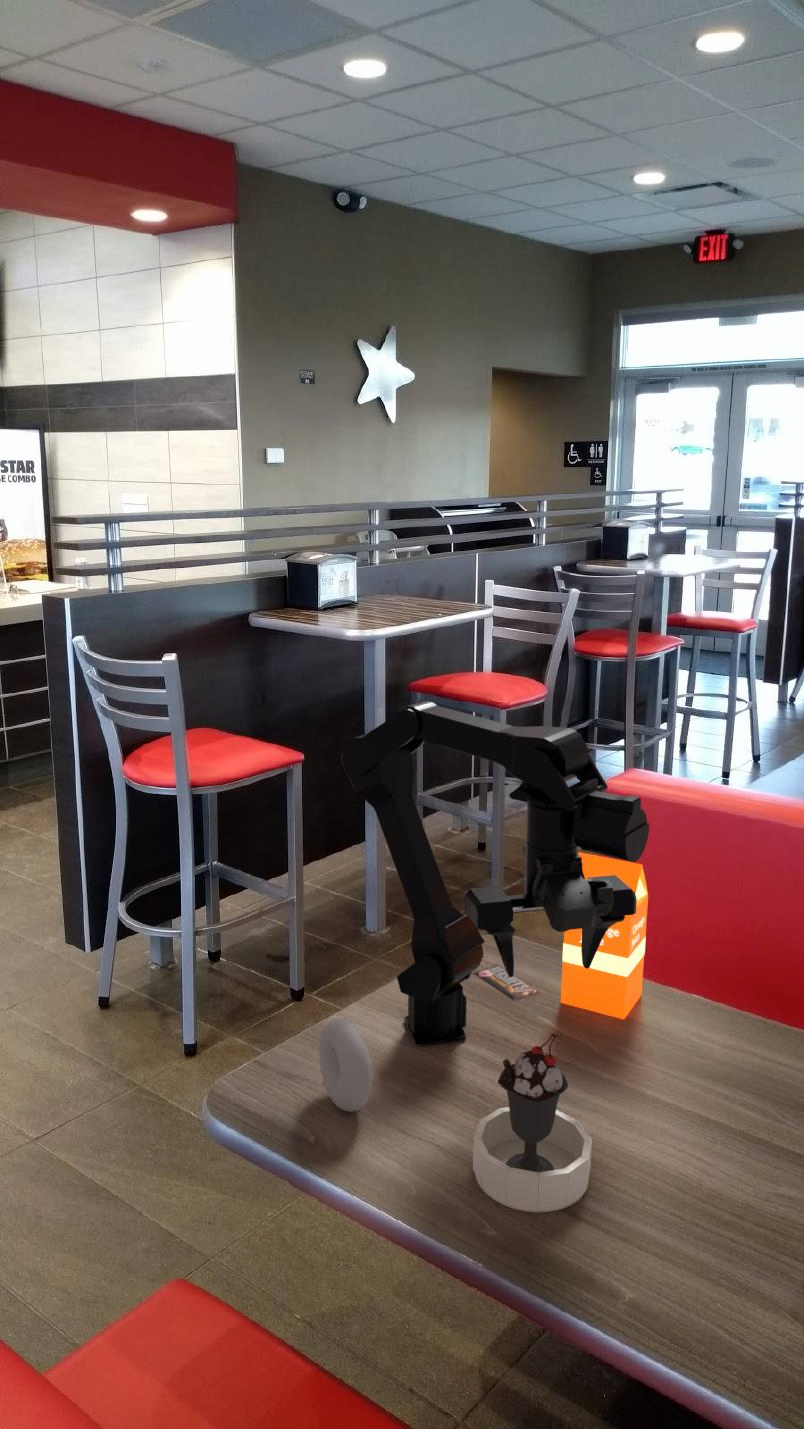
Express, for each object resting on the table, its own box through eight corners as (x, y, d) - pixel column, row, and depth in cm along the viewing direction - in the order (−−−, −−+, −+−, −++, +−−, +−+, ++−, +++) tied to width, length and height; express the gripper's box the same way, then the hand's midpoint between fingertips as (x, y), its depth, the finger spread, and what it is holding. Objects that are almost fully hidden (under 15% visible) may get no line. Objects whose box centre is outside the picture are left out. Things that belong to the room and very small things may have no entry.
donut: (377, 1125, 116) (377, 1041, 113) (347, 1133, 114) (347, 1048, 112) (342, 1077, 125) (342, 999, 122) (314, 1084, 123) (313, 1005, 121)
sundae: (576, 1170, 108) (584, 1036, 104) (533, 1201, 103) (539, 1061, 100) (526, 1140, 113) (532, 1010, 109) (483, 1168, 108) (487, 1034, 105)
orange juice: (624, 1020, 138) (633, 874, 133) (559, 1002, 142) (566, 861, 138) (642, 994, 145) (651, 855, 140) (580, 978, 149) (587, 842, 144)
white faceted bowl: (495, 1220, 101) (497, 1184, 101) (460, 1147, 112) (461, 1113, 111) (607, 1202, 104) (609, 1166, 103) (562, 1132, 115) (564, 1099, 114)
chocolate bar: (468, 974, 151) (468, 969, 151) (495, 965, 153) (496, 960, 153) (517, 1007, 142) (517, 1002, 142) (545, 998, 144) (545, 992, 144)
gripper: (494, 875, 110) (492, 1014, 113) (662, 860, 114) (655, 995, 117) (463, 839, 120) (462, 968, 124) (618, 826, 124) (612, 951, 128)
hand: (548, 971), depth 123 cm, fingers open, 9 cm apart
